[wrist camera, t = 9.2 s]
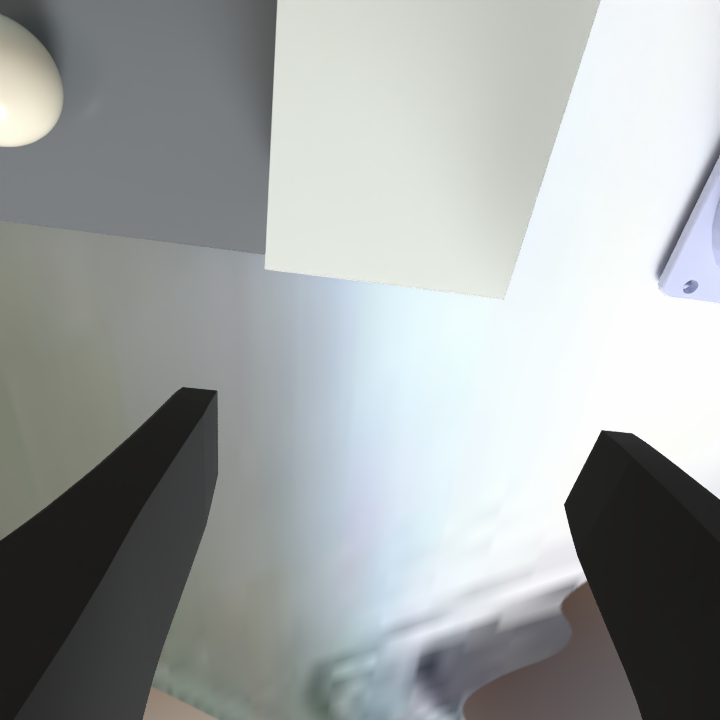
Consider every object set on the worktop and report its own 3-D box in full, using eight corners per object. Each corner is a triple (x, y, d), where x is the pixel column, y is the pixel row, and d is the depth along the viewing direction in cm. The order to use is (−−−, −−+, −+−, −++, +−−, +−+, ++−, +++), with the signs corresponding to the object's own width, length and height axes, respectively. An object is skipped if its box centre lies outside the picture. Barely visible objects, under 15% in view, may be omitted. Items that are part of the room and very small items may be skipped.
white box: (559, -137, 12) (672, -224, 8) (465, 229, 16) (504, 299, 12) (313, -186, 11) (291, -309, 7) (287, 205, 16) (264, 269, 12)
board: (595, -216, 12) (617, -238, 11) (466, 267, 18) (472, 281, 17) (-256, -402, 10) (-321, -447, 9) (-75, 196, 17) (-102, 207, 16)
